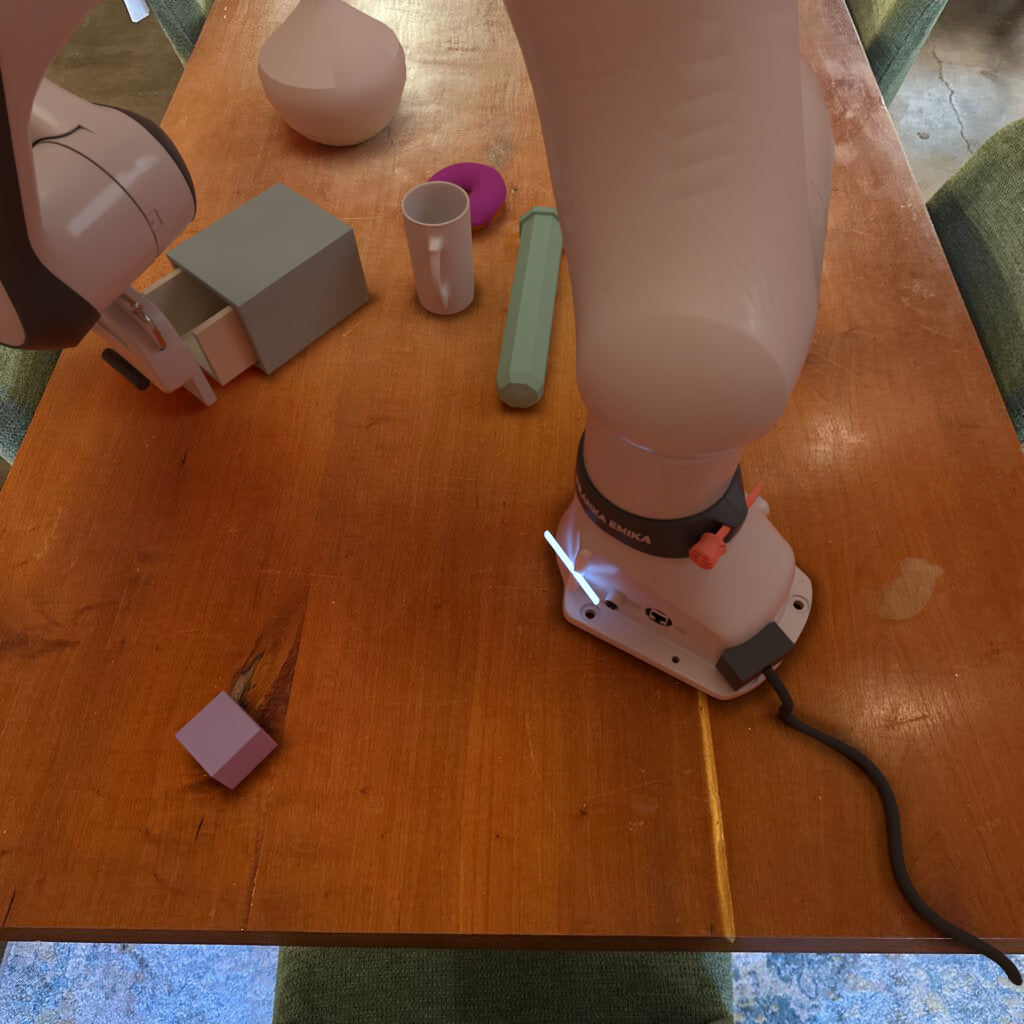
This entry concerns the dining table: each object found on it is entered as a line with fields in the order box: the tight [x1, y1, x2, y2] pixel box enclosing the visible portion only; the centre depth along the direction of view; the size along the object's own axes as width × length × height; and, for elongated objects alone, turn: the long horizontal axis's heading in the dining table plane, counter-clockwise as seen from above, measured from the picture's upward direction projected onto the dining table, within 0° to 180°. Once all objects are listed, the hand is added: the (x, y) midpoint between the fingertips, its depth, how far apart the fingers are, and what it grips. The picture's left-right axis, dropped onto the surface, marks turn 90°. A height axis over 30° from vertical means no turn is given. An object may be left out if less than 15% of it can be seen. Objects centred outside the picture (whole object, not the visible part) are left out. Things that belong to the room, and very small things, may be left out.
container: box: [495, 205, 564, 409], centre depth 80 cm, size 6×6×25 cm
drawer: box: [100, 267, 258, 407], centre depth 77 cm, size 18×10×8 cm, turn 139°
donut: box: [426, 161, 508, 233], centre depth 90 cm, size 10×10×5 cm
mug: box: [400, 181, 475, 316], centre depth 79 cm, size 10×7×12 cm, turn 179°
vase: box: [257, 0, 407, 147], centre depth 94 cm, size 18×18×19 cm
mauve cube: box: [174, 690, 279, 791], centre depth 58 cm, size 4×4×4 cm
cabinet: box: [165, 181, 370, 376], centre depth 80 cm, size 15×12×10 cm
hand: (144, 368), depth 74 cm, fingers closed, pressing on drawer
